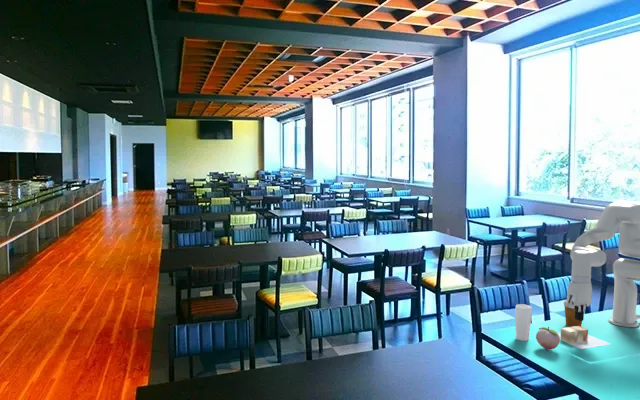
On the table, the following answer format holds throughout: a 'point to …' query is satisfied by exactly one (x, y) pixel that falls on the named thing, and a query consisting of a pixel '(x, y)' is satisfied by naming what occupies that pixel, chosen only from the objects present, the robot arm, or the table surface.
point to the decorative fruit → (548, 338)
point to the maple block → (574, 334)
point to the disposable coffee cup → (570, 316)
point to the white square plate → (588, 342)
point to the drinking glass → (523, 321)
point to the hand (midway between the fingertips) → (579, 319)
